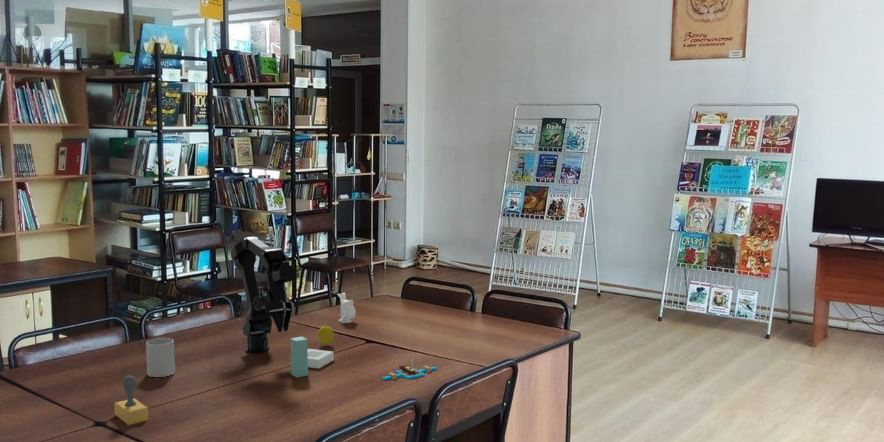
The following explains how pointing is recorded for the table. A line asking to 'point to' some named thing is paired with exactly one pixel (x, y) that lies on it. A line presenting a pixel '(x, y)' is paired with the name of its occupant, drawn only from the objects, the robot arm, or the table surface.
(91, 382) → the table surface
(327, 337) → the lemon
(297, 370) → the pillar
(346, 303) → the white upright figurine
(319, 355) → the plinth
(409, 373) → the gear mechanism
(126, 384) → the rubber stamp
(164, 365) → the mug
